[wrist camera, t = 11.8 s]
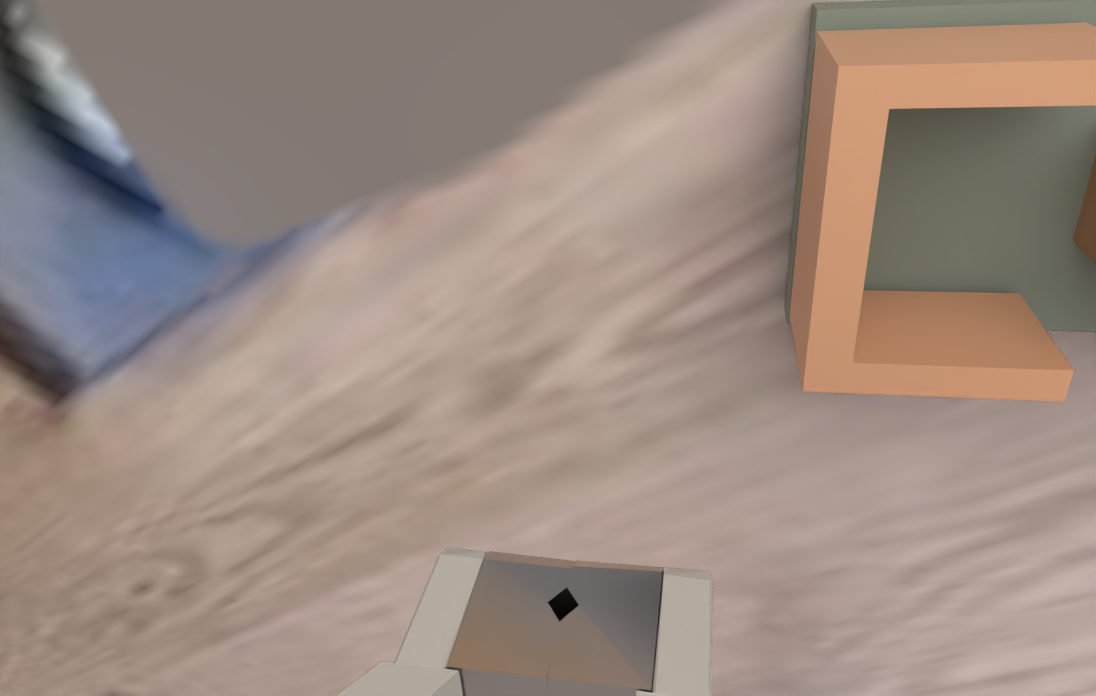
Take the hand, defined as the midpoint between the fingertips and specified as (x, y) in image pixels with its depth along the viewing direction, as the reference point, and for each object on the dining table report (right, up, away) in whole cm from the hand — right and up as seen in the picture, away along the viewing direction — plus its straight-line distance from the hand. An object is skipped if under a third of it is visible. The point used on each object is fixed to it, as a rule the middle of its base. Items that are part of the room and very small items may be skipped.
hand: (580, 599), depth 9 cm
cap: (+9, +7, +11) cm, 15 cm away
